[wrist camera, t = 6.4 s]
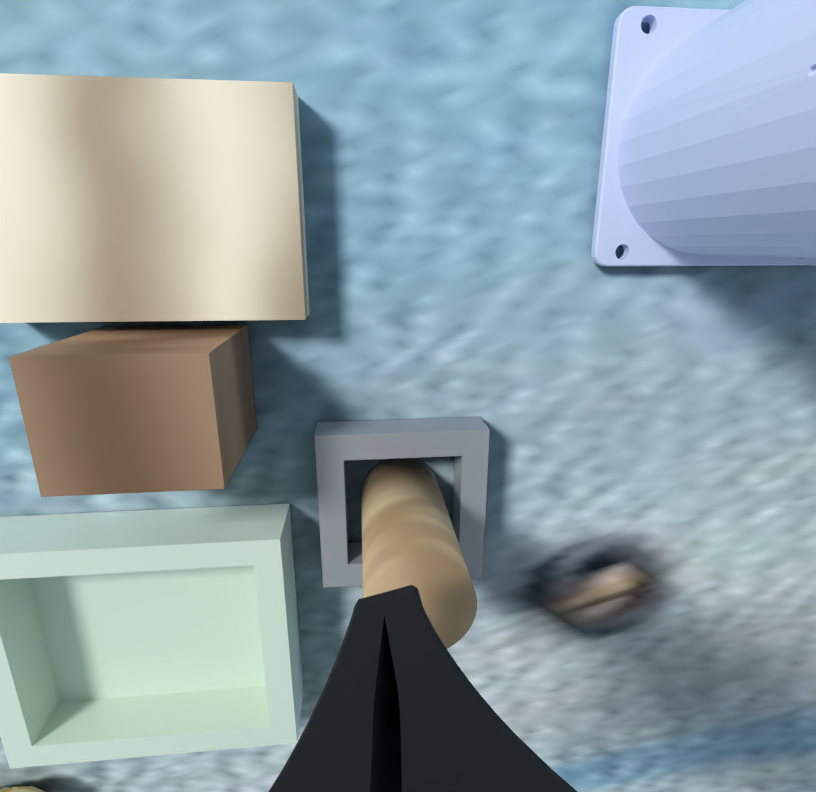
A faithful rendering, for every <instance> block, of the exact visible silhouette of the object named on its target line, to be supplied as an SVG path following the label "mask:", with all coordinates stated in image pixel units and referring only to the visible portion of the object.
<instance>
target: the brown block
mask: <svg viewBox="0 0 816 792" xmlns="http://www.w3.org/2000/svg"><path fill="white" fill-rule="evenodd" d="M9 360H10V364H11V368H12V373H13V377H14V381H15V386H16V390H17V394H18V398H19V403H20V407H21V411H22V416H23V420H24V424H25V429H26V433H27V437H28V442H29V446H30V450H31V455H32V459H33V463H34V467H35V472H36V476H37V480H38V485H39V489H40V493H41V497H48V496H71V495H94V494H117V493H140V492H163V491H186V490H209V489H225V487H226V485H227V483H228V481H229V480H230V478H231V476H232V474H233V472H234V470H235V469H236V467H237V465H238V463H239V461H240V459H241V457H242V456H243V454H244V452H245V450H246V448H247V446H248V445H249V443H250V441H251V439H252V437H253V435H254V434H255V432H256V430H257V422H256V411H255V400H254V390H253V379H252V368H251V357H250V346H249V335H248V325H189V326H122V327H100V328H97V329H94V330H91V331H88V332H85V333H81V334H78V335H75V336H72V337H69V338H66V339H63V340H60V341H57V342H54V343H51V344H48V345H45V346H42V347H38V348H35V349H32V350H29V351H26V352H23V353H20V354H17V355H14V356H11V357H9Z"/></svg>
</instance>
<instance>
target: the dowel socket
mask: <svg viewBox="0 0 816 792" xmlns="http://www.w3.org/2000/svg"><path fill="white" fill-rule="evenodd" d="M489 432H490V430H489V428H488V427H487V425H486V424H485V423H484V421H483V420H482V418H481V417H453V418H422V419H391V420H360V421H329V422H317V426H316V431H315V435H314V438H315V456H316V473H317V490H318V508H319V525H320V542H321V560H322V577H323V588H325V587H341V586H357V585H363V572H362V542H352V543H348V520H347V495H346V470H345V460H370V459H395V458H421V457H446V456H454V489H453V528H454V531H455V534H456V537H457V540H458V543H459V546H460V549H461V552H462V555H463V558H464V561H465V564H466V567H467V570H468V573H469V576H470V578H482V577H483V556H484V536H485V515H486V494H487V474H488V453H489Z"/></svg>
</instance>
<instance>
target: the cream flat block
mask: <svg viewBox="0 0 816 792" xmlns="http://www.w3.org/2000/svg"><path fill="white" fill-rule="evenodd" d="M309 314H310V311H309V292H308V273H307V254H306V235H305V215H304V196H303V177H302V158H301V139H300V120H299V101H298V95H297V92H296V90H295V88H294V85H293V83H292V82H260V81H228V80H195V79H163V78H130V77H98V76H65V75H33V74H1V73H0V323H32V322H132V321H232V320H306V318H307V317H308V315H309Z"/></svg>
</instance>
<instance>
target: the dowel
mask: <svg viewBox="0 0 816 792" xmlns="http://www.w3.org/2000/svg"><path fill="white" fill-rule="evenodd" d="M361 505H362V572H363V598H365V597H369V596H373V595H376V594H380V593H384V592H387V591H391V590H395V589H398V588H402V587H406V586H409V585H413V586H415V587H417V588H418V591H419V594H420V598H421V601H422V605H423V608H424V610H425V612H426V614H427V616H428V618H429V620H430V622H431V624H432V626H433V628H434V629H435V631H436V633H437V635H438V636H439V638H440V639H441V641H442V643H443V644H444V646H445V647H446V649H447V648H449V647H450V646H452V645H454V644H455V643H456V642H458V641H459V640H460V639H461V638H462V637H463V636H464V635H465V634H466V633H467V631H468V630H469V628H470V627H471V625H472V623H473V621H474V618H475V615H476V610H477V598H476V593H475V590H474V587H473V584H472V581H471V578H470V576H469V573H468V570H467V567H466V564H465V561H464V558H463V555H462V552H461V549H460V546H459V543H458V540H457V537H456V534H455V531H454V528H453V525H452V522H451V519H450V516H449V513H448V510H447V507H446V504H445V501H444V498H443V496H442V493H441V490H440V487H439V484H438V481H437V478H436V476H435V474H434V473H433V471H432V470H431V469H430V468H429V467H428V466H427V465H426V464H425V463H423V462H421V461H419V460H417V459H414V458H395V459H387V460H384V461H382V462H380V463H379V464H377V465H376V466H375V467H373V468H372V469H371V470H370V472H369V473H368V474H367V476H366V478H365V480H364V482H363V485H362V491H361Z"/></svg>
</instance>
